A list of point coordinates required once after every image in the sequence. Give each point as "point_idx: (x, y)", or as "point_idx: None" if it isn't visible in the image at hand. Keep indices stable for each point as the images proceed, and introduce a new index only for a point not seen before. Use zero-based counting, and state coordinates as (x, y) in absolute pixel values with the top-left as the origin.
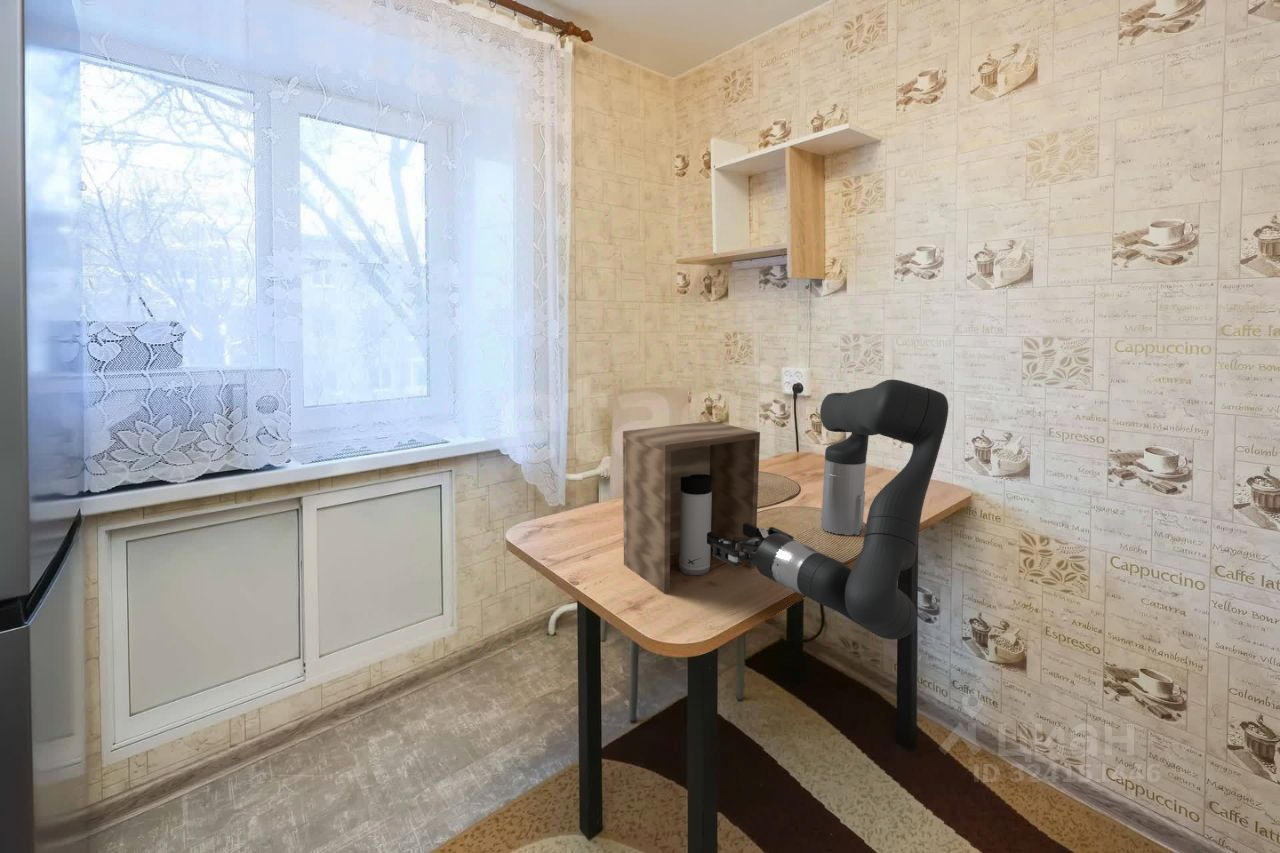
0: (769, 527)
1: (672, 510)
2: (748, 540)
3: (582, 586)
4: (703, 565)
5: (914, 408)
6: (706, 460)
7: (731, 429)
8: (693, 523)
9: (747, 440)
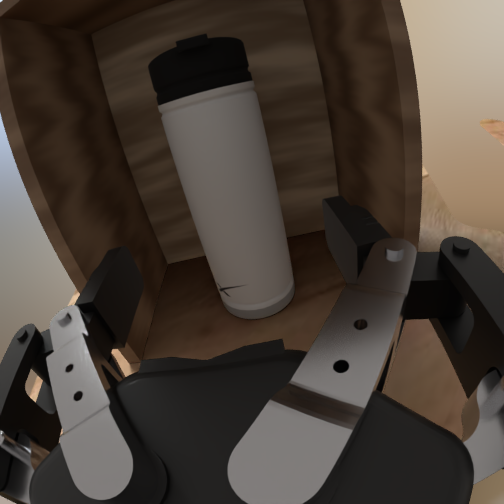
0: (446, 239)
1: None
2: (64, 433)
3: (73, 300)
4: (254, 301)
5: None
6: (303, 42)
7: None
8: (192, 192)
9: None
